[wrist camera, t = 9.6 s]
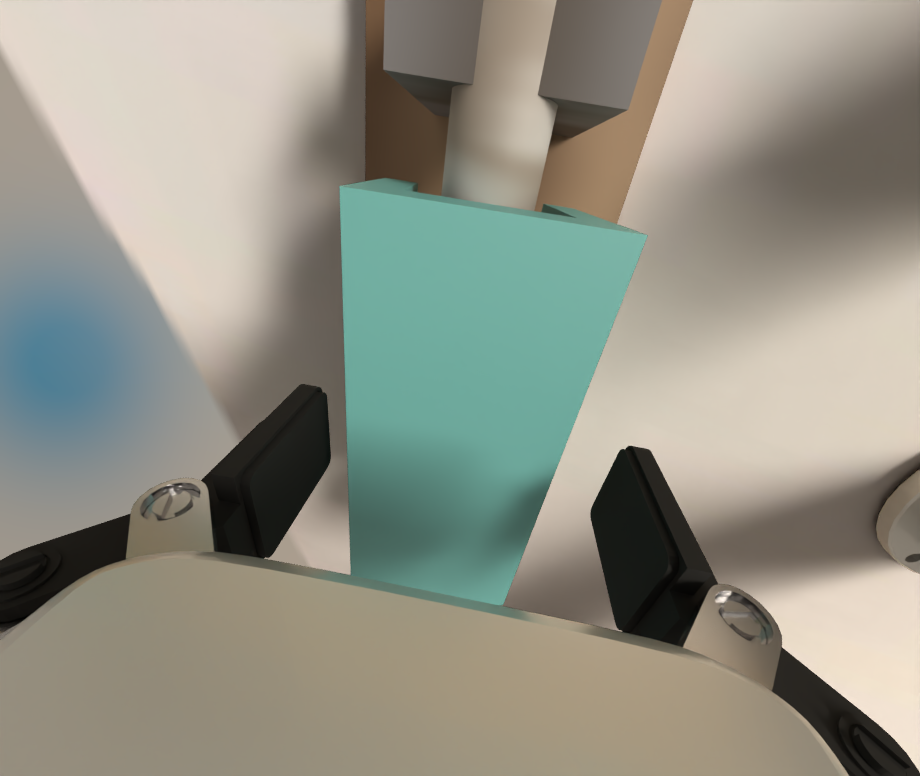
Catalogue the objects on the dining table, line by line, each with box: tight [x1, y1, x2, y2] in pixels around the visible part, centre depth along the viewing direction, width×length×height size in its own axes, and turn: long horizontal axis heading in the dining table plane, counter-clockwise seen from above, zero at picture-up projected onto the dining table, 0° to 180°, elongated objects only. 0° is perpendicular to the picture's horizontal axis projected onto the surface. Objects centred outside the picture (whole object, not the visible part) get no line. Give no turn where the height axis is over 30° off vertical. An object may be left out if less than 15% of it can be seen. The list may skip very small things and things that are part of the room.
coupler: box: [339, 178, 648, 605], centre depth 13 cm, size 6×14×5 cm, turn 172°
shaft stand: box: [365, 0, 693, 224], centre depth 15 cm, size 10×26×8 cm, turn 172°
